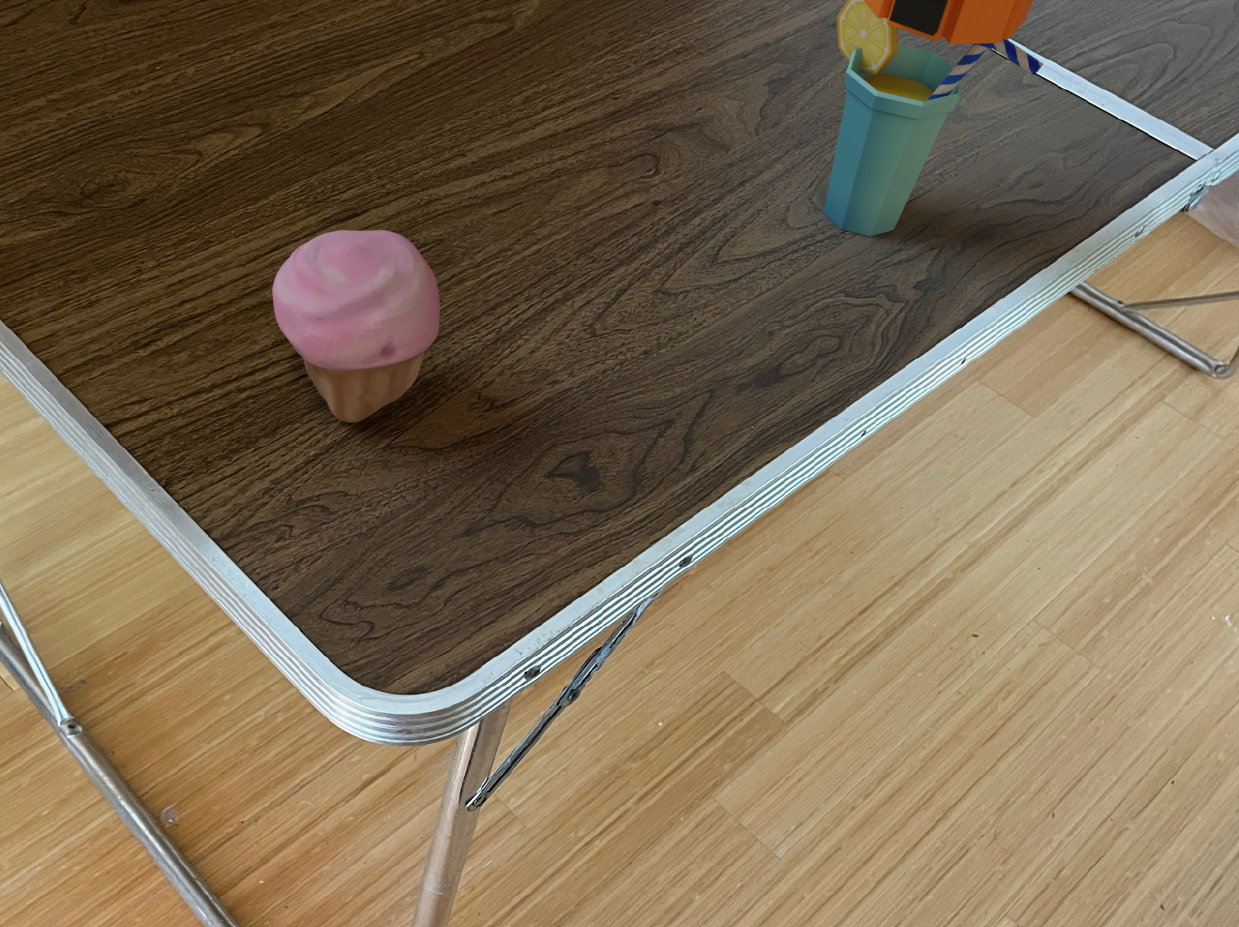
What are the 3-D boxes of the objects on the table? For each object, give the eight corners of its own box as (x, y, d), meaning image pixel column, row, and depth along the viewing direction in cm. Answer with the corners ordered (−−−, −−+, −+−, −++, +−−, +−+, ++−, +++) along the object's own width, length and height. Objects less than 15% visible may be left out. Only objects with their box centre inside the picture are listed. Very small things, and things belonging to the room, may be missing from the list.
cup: (986, 239, 86) (1073, 32, 75) (934, 288, 82) (1018, 77, 71) (815, 156, 91) (871, -49, 80) (757, 199, 87) (809, -12, 76)
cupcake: (257, 369, 71) (240, 223, 64) (392, 324, 75) (390, 181, 68) (327, 468, 67) (318, 323, 59) (467, 415, 70) (474, 272, 63)
